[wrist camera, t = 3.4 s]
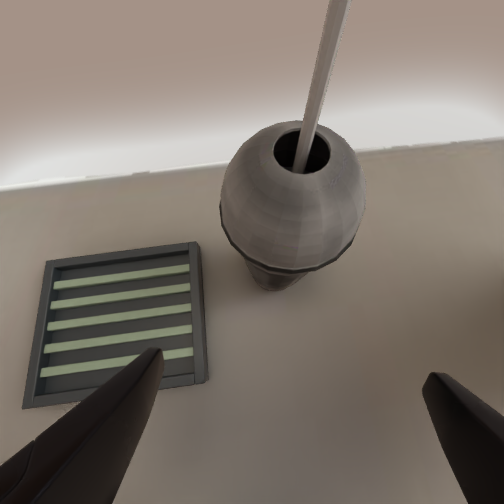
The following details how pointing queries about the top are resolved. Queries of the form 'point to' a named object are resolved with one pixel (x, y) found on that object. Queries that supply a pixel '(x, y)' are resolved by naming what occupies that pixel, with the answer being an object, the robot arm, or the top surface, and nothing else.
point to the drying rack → (117, 321)
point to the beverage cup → (296, 185)
